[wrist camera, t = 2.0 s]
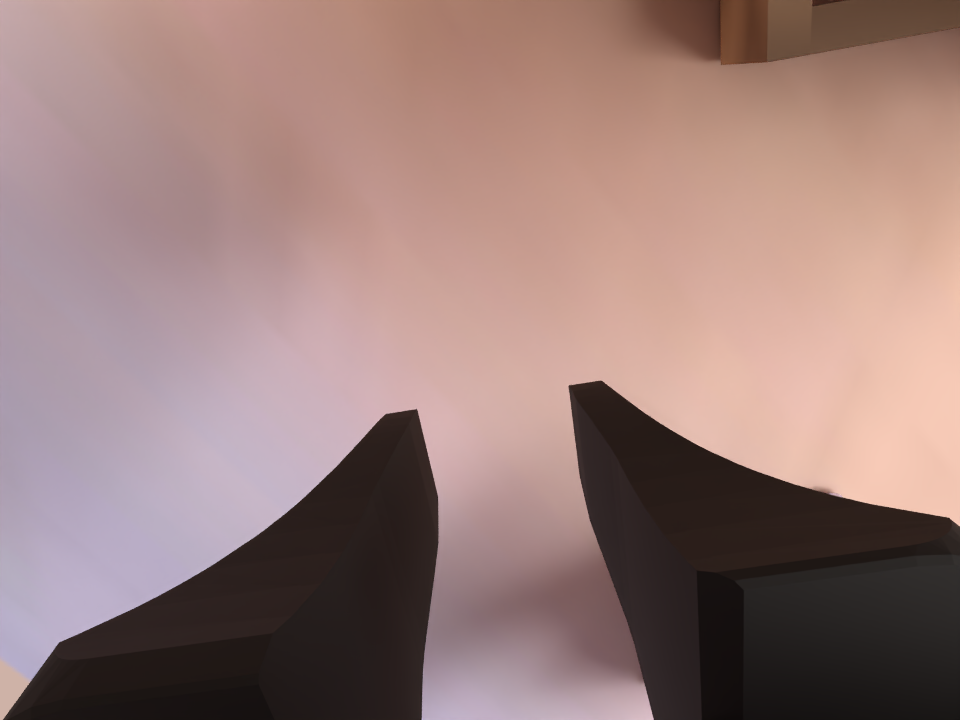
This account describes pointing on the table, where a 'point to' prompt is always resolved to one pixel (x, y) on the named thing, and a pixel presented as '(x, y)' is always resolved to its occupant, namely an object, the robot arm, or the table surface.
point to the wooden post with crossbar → (823, 25)
